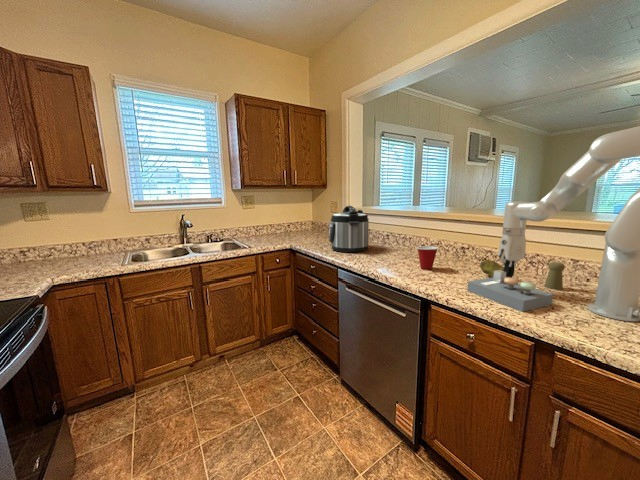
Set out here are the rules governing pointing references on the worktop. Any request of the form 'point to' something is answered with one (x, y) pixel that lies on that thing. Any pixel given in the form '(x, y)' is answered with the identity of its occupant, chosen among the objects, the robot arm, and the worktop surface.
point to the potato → (491, 267)
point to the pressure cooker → (349, 230)
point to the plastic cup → (426, 256)
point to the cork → (555, 276)
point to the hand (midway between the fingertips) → (508, 275)
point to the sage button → (527, 287)
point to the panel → (510, 294)
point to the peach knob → (510, 282)
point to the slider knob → (499, 275)
